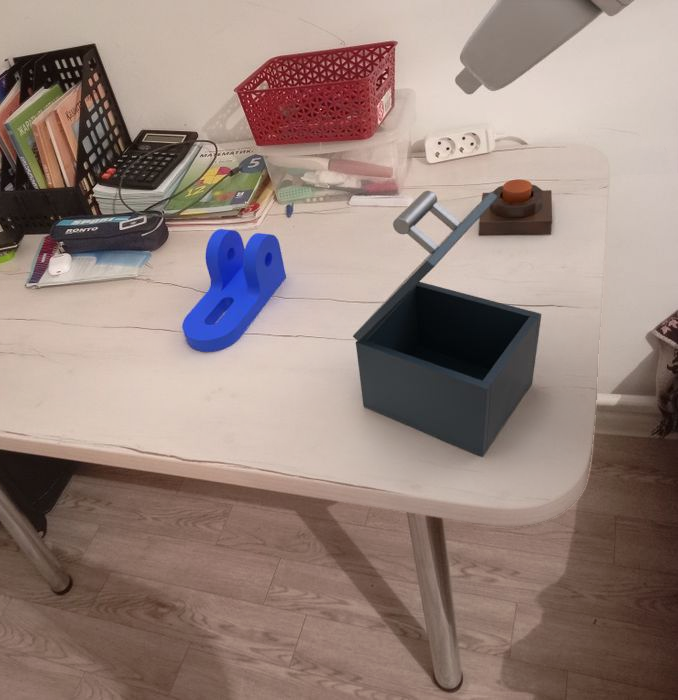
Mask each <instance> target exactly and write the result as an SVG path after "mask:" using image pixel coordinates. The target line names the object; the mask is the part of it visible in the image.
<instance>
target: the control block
mask: <svg viewBox="0 0 678 700" xmlns="http://www.w3.org/2000/svg"><path fill="white" fill-rule="evenodd" d="M492 192H493V193H494V194H495V195H496V196H497V199H496V200H495V201H494V202H493V203H492V204H491V205H490V206H489V207H488V209H487V210H486V211H485V212H484V213H483V214H482V215H481V216H480V217H479V219H478V220H479V221H478V236H528V235H529V236H530V235H531V236H533V235H537V236H538V235H541V236H542V235H551V234H552V226H553V197H552V196H553V194H552V190H551V189H550V190H549V189H545V190H543V189H541V187H539V186H538V185H535V184H532V191H531V198H530V199H529V200H527V201H524V202H514V203H512V202H508V201H504V200H503V199H502V193H503V185H500V186H498V187H497V188H495V189H494V190H493V191H492ZM489 193H490V192H482V194H481V201H482V200H483V199H484V198H485V197H486V196H487V195H488V194H489Z"/></svg>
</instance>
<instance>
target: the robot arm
mask: <svg viewBox="0 0 678 700" xmlns="http://www.w3.org/2000/svg"><path fill="white" fill-rule="evenodd" d="M634 1H635V0H496V1H495V2H494V3H493V5H492V6H491V7H490V9H489V10H488V12H487V13H486V14H485V16H484V17H483V18H482V20H481V21H480V22H479V24H478V25H477V26H476V28H475V29H474V30H473V32H472V33H471V35H470V36H469V37H468V39H467V40H466V42H465V43H464V45H463V46H462V47H463V48H462V49H461V51H460V55H459V60H460V63H461V64H462V65H463V66H464V68H462V69H461V71H460V72H459V73H458V74H457V75H456V76H455V78H454V82H455V84H456V86H458V88H459V89H461V91H462V92H464V94H466V95H472V94H474V93H475V92H476V91H478V90H479V88H481V87H482V86H484V88H485V89H487V90H489V91H491V92H496V91H500V90H502V89H504V88H506V87H508V86H509V85H511V84H512V83H514V82H515V81H516V80H518V79H519V78H521V77H522V76H523V75H525V74H526V73H527V72H529V71H530V70H531V69H533V68H534V67H536V66H537V65H538V64H539V63H541V62H542V61H544V60H545V59H546V58H548V57H549V56H550V55H551V54H553V53H554V52H556V51H557V50H558V49H559V48H560V47H562V46H563V45H564V44H566V43H567V42H568V41H570V40H571V39H572V38H573V37H575V36H576V35H578V34H579V33H580V32H581V31H583V30H584V29H585V28H586V27H588V26H589V25H590V24H591V23H592V22H594V21H595V20H597V18H599V17H600V16H601V15H602V14H603V13H604V14H605V15H607V16H608V17H615V16H617V15H618V14H619V13H621V12H622V11H623V10H624V9H625V8H627V7H628V6H629V5H630V4H632V3H633V2H634Z"/></svg>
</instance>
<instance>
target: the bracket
mask: <svg viewBox="0 0 678 700" xmlns="http://www.w3.org/2000/svg"><path fill="white" fill-rule="evenodd" d="M205 264H206V269H207V271H208V275H209V278H210V279H209V280H210V285H209V288H208V290H207V291H206V292H205V294H204V295H203V296H202V297H201V298H200V300H199V301H198V302H197V303H196V304H195V305H194V307H193V308H192V309H191V310H190V311H189V313H187V314H186V316H185V318H184V319H183V321H182V325H181V327H182V331H183V335H184V337H185V341H186V342H187V344H188V345H189V347H190V348H191V349H193V350H196V351H199V352H203V353H205V352H206V353H210V352H211V353H213V352H218V351H221V350H224V349H226V348H228V347H230V346H232V345H233V344H235V343H236V342H237V341H238V340H240V339H241V337H242V336H243V334H245V332H246V331H247V329H248V328H249V326H250V325H251V324H252V323H253V321H254V320H255V318H256V317H257V316H258V315H259V313H260V312H261V311H262V309H263V308H264V307H265V306H266V304H267V303H268V302H269V300H270V299H271V298H272V297H273V295H274V294H275V293H276V291H277V290H278V288H279V287H280V286H281V285H282V283H283V282H284V281H285V279H286V278H287V274H286V270H285V263H284V260H283V253H282V249H281V244H280V241H279V239H278V237H277V236H276V235H274V234H270V233H263V232H262V233H260V232H257V233H254V234H252V235H251V236H250V238H249V239H248V240H247V242H246V245H244V240H243V238H242V235H241V234H240V233H239V232H238V231H237V230H233V229H227V228H226V229H225V228H219V229H216V230H215V231H214V232H213V233H212V234H211V235H210V237H209V239H208V241H207V245H206V249H205Z"/></svg>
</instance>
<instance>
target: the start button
mask: <svg viewBox="0 0 678 700" xmlns="http://www.w3.org/2000/svg"><path fill="white" fill-rule="evenodd" d="M532 185H533V184H532V182H531V181H529V180H526V179H512V180H509V181H506V182H505V183H504V184H503V185H502V186H503V193H502V199H503V200H504V201H508V202H512V203H514V202H524V201H527V200H529V199H530V198H531V191H532Z"/></svg>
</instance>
